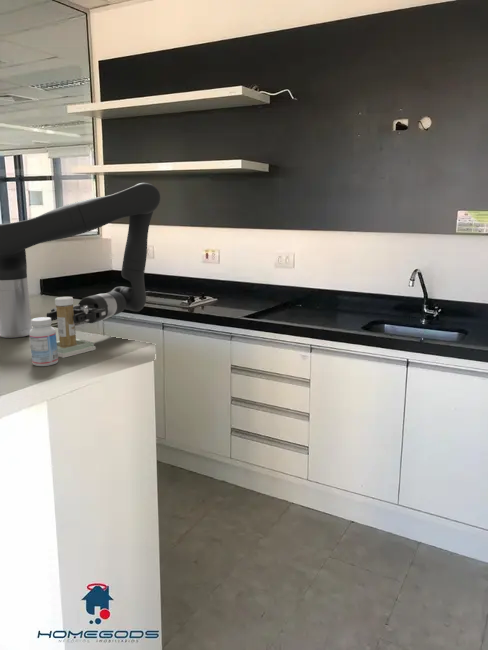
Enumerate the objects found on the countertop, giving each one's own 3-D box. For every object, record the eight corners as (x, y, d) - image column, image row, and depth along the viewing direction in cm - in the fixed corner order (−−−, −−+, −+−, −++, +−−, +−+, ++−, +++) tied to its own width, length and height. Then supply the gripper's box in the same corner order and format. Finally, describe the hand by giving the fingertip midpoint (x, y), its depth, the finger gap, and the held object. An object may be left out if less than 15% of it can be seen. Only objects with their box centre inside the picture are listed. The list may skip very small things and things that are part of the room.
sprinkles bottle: (79, 347, 146) (75, 297, 143) (61, 350, 144) (57, 299, 141) (74, 344, 150) (70, 295, 147) (57, 346, 147) (52, 297, 144)
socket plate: (41, 351, 146) (40, 344, 146) (73, 344, 154) (73, 337, 153) (63, 357, 140) (62, 350, 139) (95, 349, 147) (95, 342, 147)
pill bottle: (49, 358, 139) (45, 315, 137) (63, 362, 135) (59, 318, 133) (27, 364, 135) (22, 319, 132) (40, 368, 131) (36, 322, 128)
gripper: (76, 293, 160) (37, 303, 145) (118, 295, 155) (82, 305, 140) (78, 319, 161) (40, 330, 146) (119, 321, 156) (84, 334, 141)
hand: (61, 318), depth 143 cm, fingers open, 8 cm apart
